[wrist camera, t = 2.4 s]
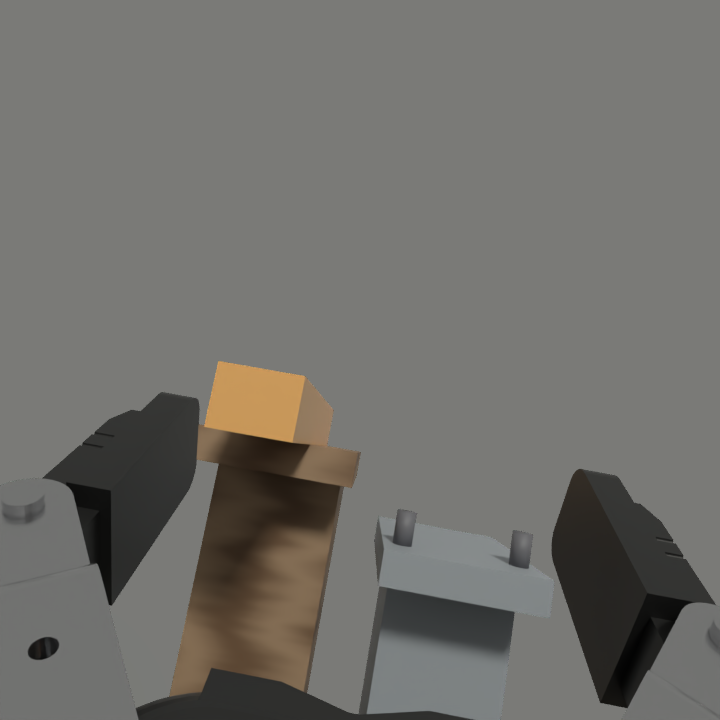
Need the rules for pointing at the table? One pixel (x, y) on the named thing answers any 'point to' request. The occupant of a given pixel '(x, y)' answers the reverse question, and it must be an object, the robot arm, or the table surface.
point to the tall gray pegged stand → (446, 618)
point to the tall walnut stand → (262, 558)
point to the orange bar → (268, 405)
